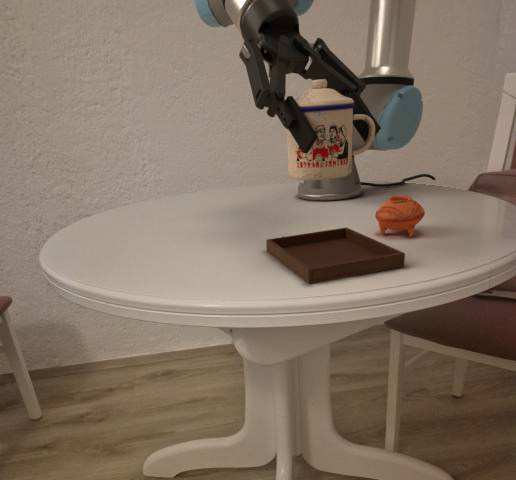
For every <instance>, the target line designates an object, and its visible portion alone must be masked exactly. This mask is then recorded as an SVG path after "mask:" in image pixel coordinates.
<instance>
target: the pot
mask: <svg viewBox="0 0 516 480" xmlns="http://www.w3.org/2000/svg"><path fill="white" fill-rule="evenodd" d="M425 214H426V211H425V209H424V207H423V206H422V205H421V204H420V203H419V202H417V200H414V199H413V198H412V196H411V195H406V194H405V195H393V196H390V197H389V198H388V199H387V200H386V202H384V203H383V204H382V205H381V206H379V208H378V210H376V212H375V214H374V217H375V219H376V221H377V224H378V226H379V231H380V234H381V235H384V236H385V235H386V231H387V230H390V231H394V232H401V231H407V233H408V237H409V238H412V237H413V234H414V232H415V229H416V226H417V225H418V224H419V223H420V222H421V221H422V220H423V218H424V217H425Z"/></svg>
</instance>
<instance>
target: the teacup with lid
mask: <svg viewBox="0 0 516 480" xmlns="http://www.w3.org/2000/svg"><path fill="white" fill-rule="evenodd" d="M310 85H311V89H308V90H305V91H304V92H302V93H301V94H300V95H299V96H298V97H297V98H294V100H295V101H296V103H297V104H298V106H299V107H300V109H301V110H302V112H303V113H304V115H305V117H306V118H307V120H308V121H309V123H310V124H311V126H312V127H313V129H314V131H315V132H316V134H317V135H318V138H317V139H316V141H315V142H314V144H313V145H312V147H311V149H310V150H309V152H308V153H303V152H302V150H301V149H300V147H299V146H298V144H297V142H296V141H295V139H294V138H293V136H292V134H291V133H290V131H289V130H288V129H286V136H287V137H286V139H287V141H286V142H287V167H288V173H287V174H288V176H289V178H291V179H294V180H298V181H300V180H326V179H335V178H341V177H345V176H348V175H349V174H350V173H351V169H352V155H354V156H357V155H360V154H363V153H364V152H366V151H367V149H368V148H369V147H370V145H371V143H372V141H373V139H374V136H375V124H374V122H373V120H372V119H371V118H370V117H369V116H367V115H364V114H356V115H353V107H355V104H353V103H354V101H353V99H351V98H348V97H345V96H343V95H341V94H340V93H338V92H337V91H336V90H334V89H330V88H326V87H327V81H326V79H321V80H311V84H310ZM353 120H364V121H365V122H366V123H367V124H368V126H369V134H368V138H367V140H366V142H365V143H364V144H363V146H361V147H360V148H358V149H354V150H352V125H353Z"/></svg>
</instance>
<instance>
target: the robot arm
mask: <svg viewBox="0 0 516 480" xmlns="http://www.w3.org/2000/svg"><path fill="white" fill-rule="evenodd" d="M314 1H315V0H194V4H195V9H196V12H197V13H198V16H199V18H200V20H201V21H202V22H203V23H204V24H205V25H206V26H208V27H210V28H215V29H216V28H228V27H230V26H233V25H234V26H235V28H236V29H237V31H238V33H239V34H240V36H241V37H242V40H243V43H242V46H241V49H240V51H239V54H238V56H239V58H240V60H241V61H242V63H243V64H244V66H245V69H246V73H247V77H248V81H249V86H250V89H251V94H252V98H253V102H254V106H255V107H256V108H257V109H258V110H260V111H261V110H264V109H265V108H267V110H266V115H267V116H268V117H270V118H275V117H276V116H277V118H278V119H279V121H280V123H281V124H282V126H283V127H284V128H285V129H286V130H287V129H288V130H289V131H290V133H291V134H292V136H293V138H294V139H295V141H296V142H297V144H298V146H299V147H300V149H301V150H302V152H303V153H308V152H309V150H310V149H311V147H312V145H313V144H314V142H315V141H316V139H317V138H318V135H317V134H316V132H315V131H314V129H313V127H312V126H311V124H310V123H309V121H308V120H307V118H306V117H305V115H304V113H303V112H302V110H301V109H300V107H299V106H298V104H297V103H296V101H295V98H294V97H293V95H287V97H286V89H287V88H286V87H287V86H286V84H287V83H286V82H287V75H290V74H296V75H299V76H300V77H301V78H303V79H304V80H311V81H313V80H321V79H326V81H327V87H326V88H330V89H334V90H336V91H337V92H338V93H340V94H341V95H343V96H345V97H348V98H351V99H353V101H354V103H353V104H355V107H353V115H356V114H364V115H367V116H369V117H370V118H371V119H372V120H373V122H374V124H375V136H374V139H373V141H372V143H371V145H370V147H369V148H368V149H367V150H368V151H380V152H381V151H382V152H385V151H391V150H392V151H393V150H400V149H402V148H404V147H406V146H407V145H408V144H409V143H410V142H411V140H412V139H413V138H414V137H415V135H416V134H417V131H418V130H419V127H420V124H421V121H422V118H423V112H424V101H423V100H422V99H423V96H422V92H421V90H420V89H419V88H418V87H416V86H415V76H414V75H413V74H412V72H411V71H410V69H409V65H410V64H409V63H410V55H411V46H412V39H413V31H414V21H415V15H416V5H417V0H370V4H369V6H370V7H369V16H368V25H367V38H366V48H365V61H364V69H363V70H362V72H361V73H360V74H359V75H358V76H357V75H356V73H355V72H353V71H352V69H350V68H349V67H348V66H347V65H346V63H344V62H343V61H342V60H341V59H340V58H339V57H338V56H337V55H336V54H335V53H334V52H333V51H332V50H331V49H330V48H329V47H328V45H327V44H326V42H325V41H324V39H323V38H321V37H317V38H316V39H315V41H314V42H309V41H308V40H307V39H306V38H305V37H304V36H303V35H302V34H301V32H300V21H299V17H301V16H303V15H305V14H306V13H307V12H308V11H309V10H310V9H311V7H312V5H313V4H314ZM309 61H310V64H309V66H308V68H307V65H308V63H309ZM265 63H266V64H267V66H268V72H267V68H266V65H265ZM285 97H286V98H285ZM368 134H369V126H368V124H367V123H366V122H365V121H364V120H353V125H352V150H354V149H358V148H360V147H361V146H363V144H364V143H365V142H366V140H367V138H368ZM367 150H366V151H367ZM419 178H429V179H431V180H432V181H436V180H437V179H436V177H435V176H433V174H429V173H420V174H416V175H413V176H410V177H406V178H405V177H404V178H403V179H402V180H401V181H398V182H389V183H373V182H365V181H361V178H360V175H359V172H358V168H357V164H356V160H355V155H352V169H351V173H350V174H349V175H348V176H345V177H341V178H335V179H326V180H298V183H299V184H298V186H297V189H298V190H297V196H298V198H299V199H302V200H308V201H319V202H320V201H321V202H323V201H341V200H347V199H352V198H356V197H359V196H361V195H362V186H367V187H374V188H387V187H388V188H389V187H397V186H402V185H404V184H405V182H408V181H412V180H416V179H419Z"/></svg>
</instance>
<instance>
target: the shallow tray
mask: <svg viewBox="0 0 516 480" xmlns="http://www.w3.org/2000/svg"><path fill="white" fill-rule="evenodd" d="M265 242H266V253H268V254H269V255H270V256H272V257H273V258H274V259H276V260H277V261H278V262H279V263H281V264H282V265H284V267H286V268H287V269H288V270H290V271H291V272H292V273H294V274H295V275H296V276H298V277H299V278H300V279H301V280H303V281H304V282H305V283H307V284H308V285H312V284H317V283H318V284H319V283H322V282H328V281H334V280H340V279H345V278H350V277H351V278H352V277H357V276H361V275H362V276H363V275H367V274H368V275H369V274H373V273H374V274H375V273H380V272H384V271H390V270H391V271H392V270H396V269H401V268H405V259H406V253H405V252H403V251H401V250H399V249H396V248H395V247H392V246H389V245H387V244H386V243H383V242H380V241H379V240H376V239H374V238H371V237H369V236H367V235H365V234H363V233H360V232H358V231H355V230H353V229H352V228H349V227H341V228H335V229H328V230H321V231H314V232H307V233H300V234H294V235H287V236H282V237H280V236H279V237H274V238H268V239H267V238H266V240H265Z"/></svg>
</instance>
